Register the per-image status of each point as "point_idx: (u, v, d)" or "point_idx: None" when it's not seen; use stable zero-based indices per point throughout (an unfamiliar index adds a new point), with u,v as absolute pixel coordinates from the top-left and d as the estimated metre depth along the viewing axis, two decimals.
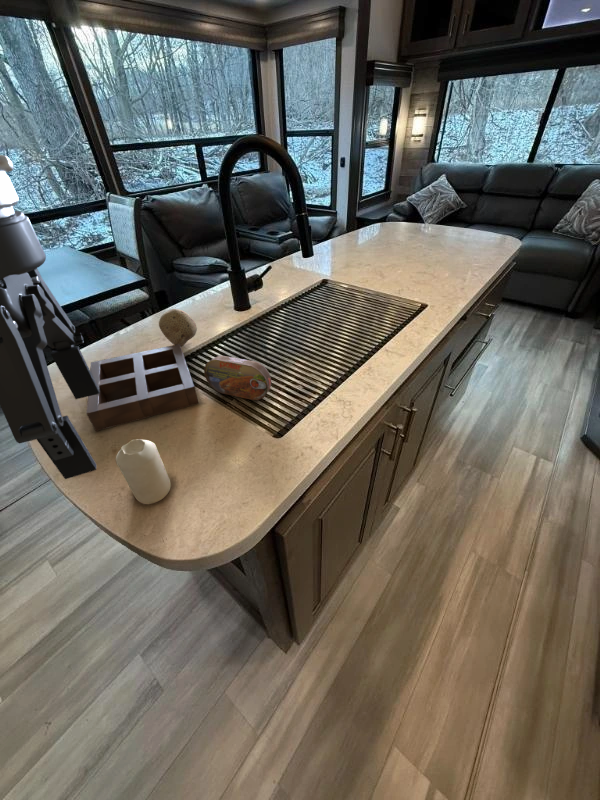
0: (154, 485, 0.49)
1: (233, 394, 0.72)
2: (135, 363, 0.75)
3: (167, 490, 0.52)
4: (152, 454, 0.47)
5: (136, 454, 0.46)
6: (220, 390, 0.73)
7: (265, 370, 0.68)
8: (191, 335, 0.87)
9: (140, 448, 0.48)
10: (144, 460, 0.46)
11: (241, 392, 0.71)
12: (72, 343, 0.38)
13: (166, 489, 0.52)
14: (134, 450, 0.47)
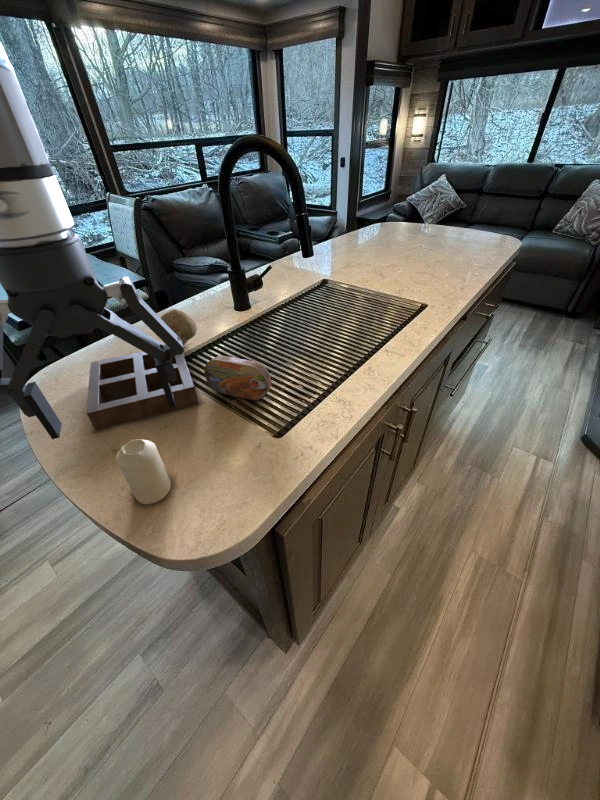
0: (154, 485, 0.49)
1: (233, 394, 0.72)
2: (135, 363, 0.75)
3: (167, 490, 0.52)
4: (151, 454, 0.47)
5: (136, 454, 0.46)
6: (220, 390, 0.73)
7: (265, 370, 0.68)
8: (191, 335, 0.87)
9: (140, 448, 0.48)
10: (144, 460, 0.46)
11: (241, 392, 0.71)
12: None
13: (166, 489, 0.52)
14: (134, 450, 0.47)
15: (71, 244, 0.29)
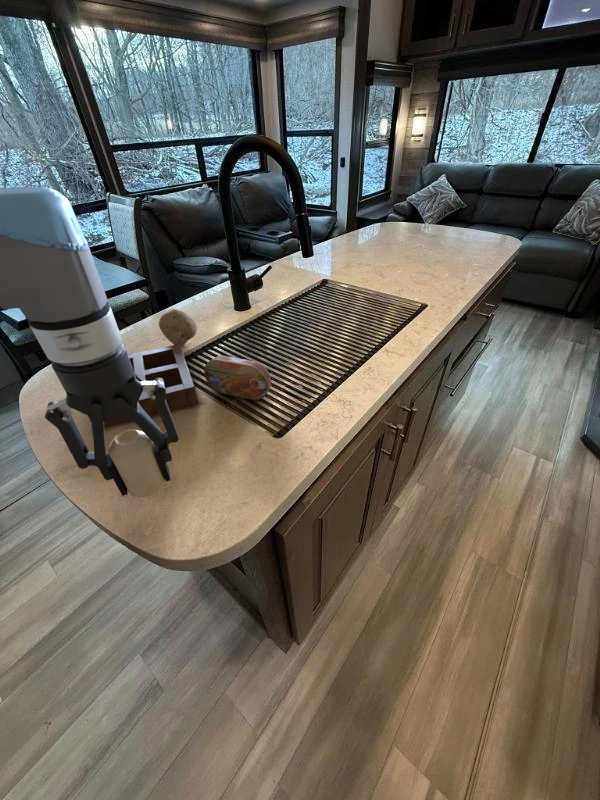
0: (147, 478, 0.48)
1: (233, 394, 0.72)
2: (135, 363, 0.75)
3: (161, 483, 0.51)
4: (145, 445, 0.46)
5: (129, 444, 0.45)
6: (220, 390, 0.73)
7: (265, 370, 0.68)
8: (191, 335, 0.87)
9: (134, 438, 0.46)
10: (137, 451, 0.45)
11: (241, 392, 0.71)
12: (157, 446, 0.48)
13: (160, 482, 0.50)
14: (127, 440, 0.46)
15: (120, 357, 0.37)
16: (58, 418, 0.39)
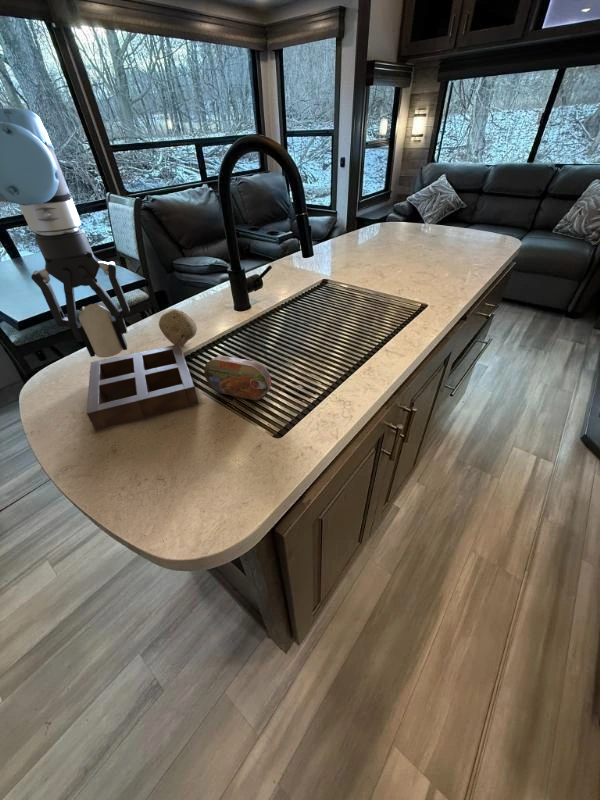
0: (107, 340, 0.67)
1: (233, 394, 0.72)
2: (135, 363, 0.75)
3: (119, 349, 0.70)
4: (104, 312, 0.65)
5: (92, 310, 0.63)
6: (220, 390, 0.73)
7: (265, 370, 0.68)
8: (191, 335, 0.87)
9: (96, 309, 0.65)
10: (98, 315, 0.64)
11: (241, 392, 0.71)
12: (114, 317, 0.66)
13: (118, 348, 0.69)
14: None
15: (80, 234, 0.56)
16: (40, 280, 0.58)
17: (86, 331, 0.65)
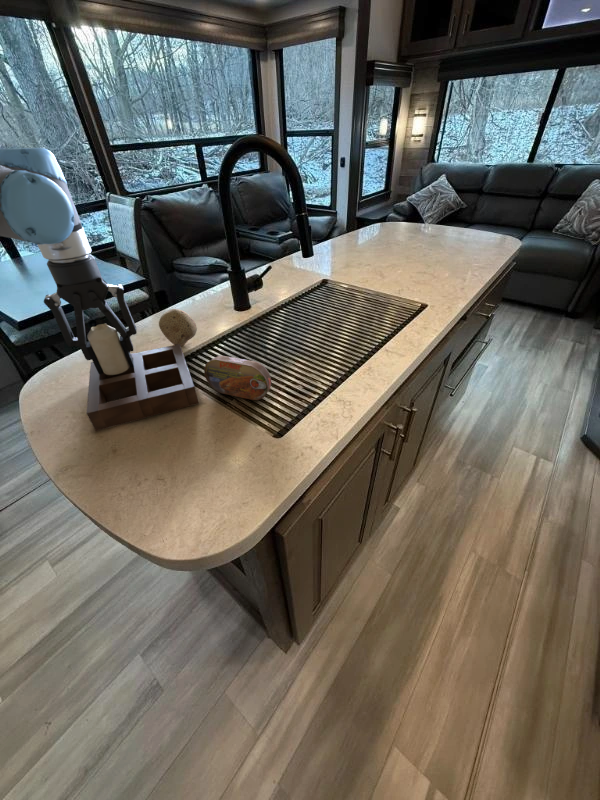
0: (115, 358, 0.69)
1: (233, 394, 0.72)
2: (135, 363, 0.75)
3: (126, 367, 0.72)
4: (112, 333, 0.67)
5: (101, 330, 0.66)
6: (220, 390, 0.73)
7: (265, 370, 0.68)
8: (191, 335, 0.87)
9: (105, 329, 0.68)
10: (106, 335, 0.66)
11: (241, 392, 0.71)
12: (122, 336, 0.69)
13: (125, 366, 0.72)
14: None
15: (90, 261, 0.59)
16: (52, 303, 0.60)
17: (95, 350, 0.68)
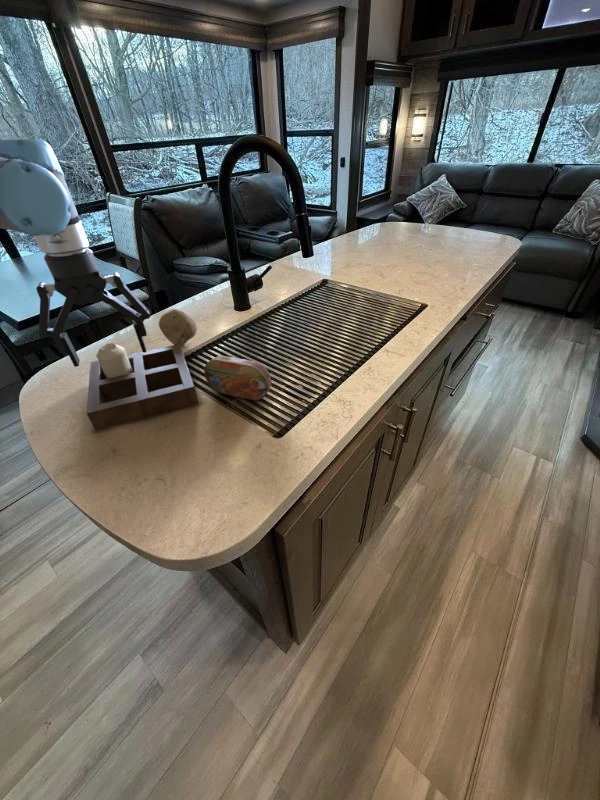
0: None
1: (233, 394, 0.72)
2: (135, 363, 0.75)
3: None
4: (120, 352, 0.70)
5: (110, 350, 0.69)
6: (220, 390, 0.73)
7: (265, 370, 0.68)
8: (191, 335, 0.87)
9: (113, 348, 0.71)
10: (115, 355, 0.69)
11: (241, 392, 0.71)
12: (136, 321, 0.68)
13: None
14: (109, 349, 0.70)
15: (88, 255, 0.58)
16: (44, 292, 0.59)
17: (104, 369, 0.71)
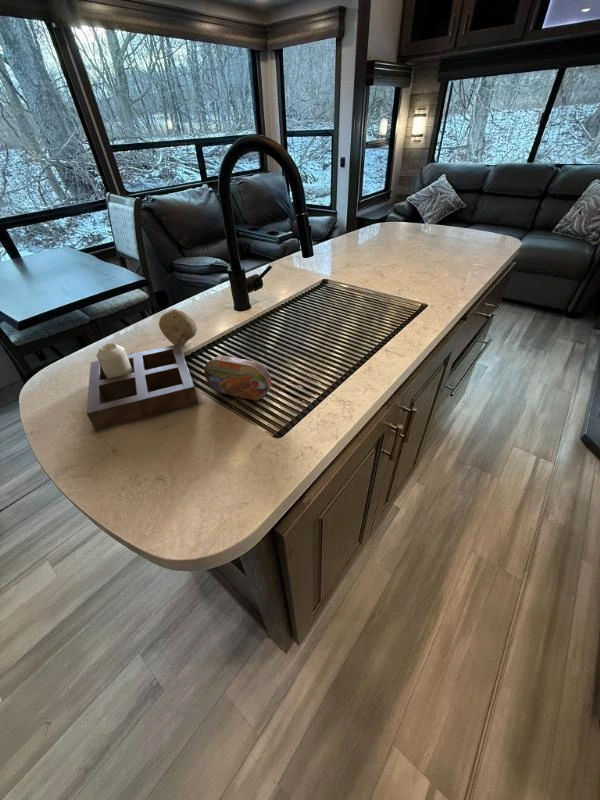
0: None
1: (233, 394, 0.72)
2: (135, 363, 0.75)
3: None
4: (120, 352, 0.70)
5: (110, 350, 0.69)
6: (220, 390, 0.73)
7: (265, 370, 0.68)
8: (191, 335, 0.87)
9: (113, 348, 0.71)
10: (115, 355, 0.69)
11: (241, 392, 0.71)
12: None
13: None
14: (109, 349, 0.70)
15: None
16: None
17: (104, 369, 0.71)
